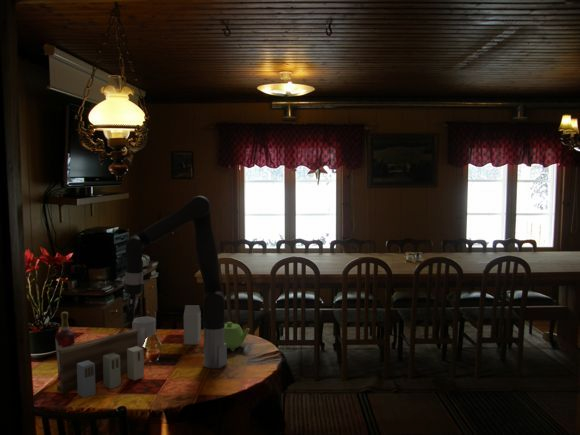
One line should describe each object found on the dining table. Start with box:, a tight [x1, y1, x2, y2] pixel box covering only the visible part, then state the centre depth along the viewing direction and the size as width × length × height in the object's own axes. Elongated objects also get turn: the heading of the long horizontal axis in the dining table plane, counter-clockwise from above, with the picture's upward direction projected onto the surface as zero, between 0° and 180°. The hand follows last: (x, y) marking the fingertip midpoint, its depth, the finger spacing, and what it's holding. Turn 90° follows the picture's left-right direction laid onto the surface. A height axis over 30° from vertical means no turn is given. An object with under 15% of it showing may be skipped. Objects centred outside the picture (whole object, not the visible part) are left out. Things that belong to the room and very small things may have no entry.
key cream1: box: [126, 346, 145, 381], centre depth 197 cm, size 5×4×12 cm
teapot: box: [225, 321, 250, 352], centre depth 233 cm, size 20×13×13 cm
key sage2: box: [103, 353, 122, 390], centre depth 189 cm, size 5×4×12 cm
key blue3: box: [77, 360, 97, 399], centre depth 181 cm, size 5×4×12 cm
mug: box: [131, 316, 156, 348], centre depth 234 cm, size 15×11×13 cm
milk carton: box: [183, 304, 202, 345], centre depth 240 cm, size 7×7×19 cm
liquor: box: [54, 311, 76, 382], centre depth 194 cm, size 7×7×28 cm
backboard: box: [56, 329, 139, 395], centre depth 195 cm, size 6×33×17 cm, turn 140°
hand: (132, 317), depth 207 cm, fingers open, 8 cm apart
